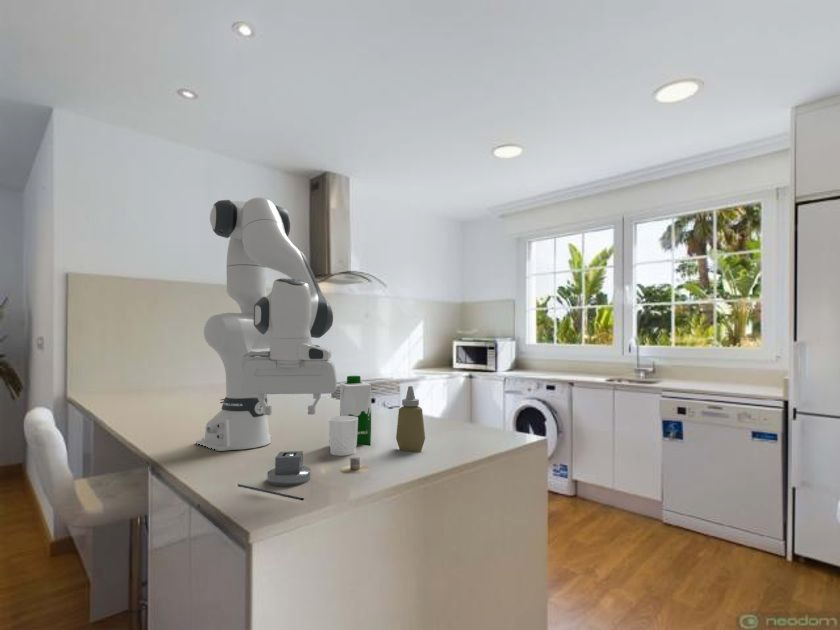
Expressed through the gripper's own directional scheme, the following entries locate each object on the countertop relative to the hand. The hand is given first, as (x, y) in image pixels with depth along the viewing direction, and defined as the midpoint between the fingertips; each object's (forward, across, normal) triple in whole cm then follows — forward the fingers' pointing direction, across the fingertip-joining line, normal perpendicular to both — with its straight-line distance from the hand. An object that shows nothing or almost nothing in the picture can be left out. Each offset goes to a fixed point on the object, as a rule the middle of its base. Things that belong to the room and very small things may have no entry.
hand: (289, 414), depth 99 cm
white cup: (+15, +11, +22) cm, 28 cm away
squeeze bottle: (+15, +29, +23) cm, 40 cm away
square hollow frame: (+12, 0, 0) cm, 12 cm away
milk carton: (+15, +14, +33) cm, 39 cm away
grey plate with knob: (+15, 0, 0) cm, 15 cm away
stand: (+15, +14, +6) cm, 21 cm away
